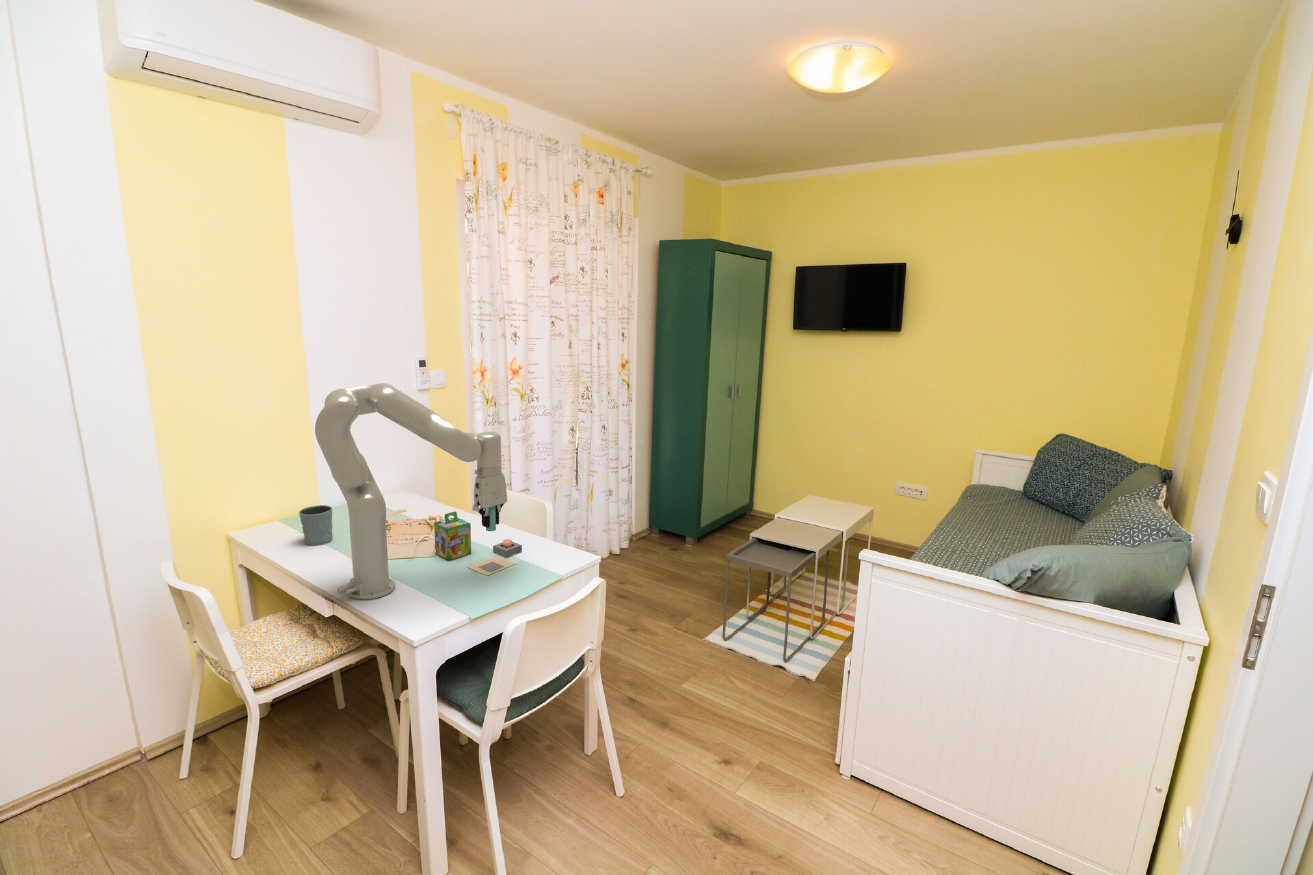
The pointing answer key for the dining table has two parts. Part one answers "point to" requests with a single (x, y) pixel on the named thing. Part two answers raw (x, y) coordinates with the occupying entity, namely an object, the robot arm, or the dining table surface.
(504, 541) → the button
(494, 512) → the teal cylinder
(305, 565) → the dining table surface
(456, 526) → the chalk box
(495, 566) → the sheet
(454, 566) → the dining table surface
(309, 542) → the teal grey cup
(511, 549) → the button collar
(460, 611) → the dining table surface
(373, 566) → the robot arm
